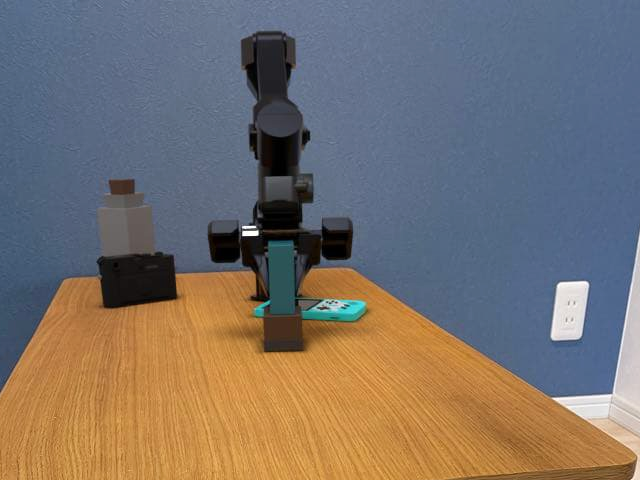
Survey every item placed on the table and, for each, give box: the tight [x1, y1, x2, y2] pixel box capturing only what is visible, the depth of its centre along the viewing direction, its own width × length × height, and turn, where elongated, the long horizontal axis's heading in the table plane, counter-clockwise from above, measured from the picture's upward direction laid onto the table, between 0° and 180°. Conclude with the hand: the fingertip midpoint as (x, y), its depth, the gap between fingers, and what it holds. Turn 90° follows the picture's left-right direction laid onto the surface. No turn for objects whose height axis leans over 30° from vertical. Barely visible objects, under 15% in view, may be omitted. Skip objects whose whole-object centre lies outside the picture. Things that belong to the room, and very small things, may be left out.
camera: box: [95, 251, 178, 309], centre depth 142 cm, size 14×7×8 cm, turn 124°
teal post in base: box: [262, 240, 304, 352], centre depth 111 cm, size 6×5×13 cm
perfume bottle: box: [96, 178, 156, 257], centre depth 153 cm, size 7×7×18 cm
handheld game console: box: [254, 297, 367, 322], centre depth 132 cm, size 10×16×1 cm, turn 72°
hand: (282, 295), depth 109 cm, fingers closed on teal post in base, 3 cm apart
